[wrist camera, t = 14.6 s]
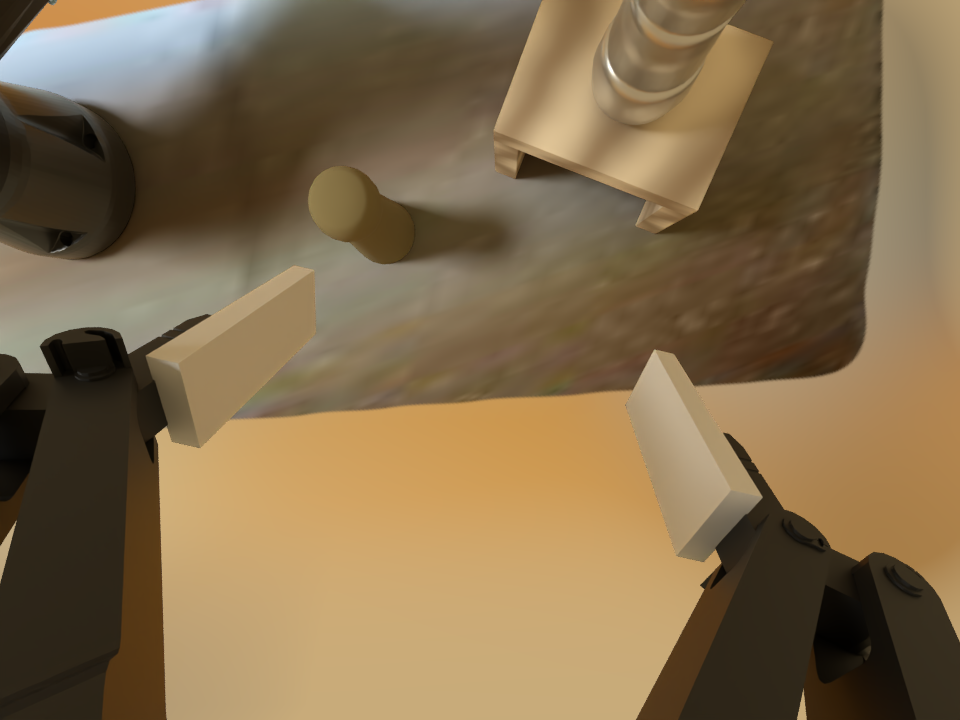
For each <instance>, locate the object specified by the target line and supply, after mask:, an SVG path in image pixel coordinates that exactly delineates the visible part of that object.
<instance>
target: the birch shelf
mask: <svg viewBox="0 0 960 720" xmlns="http://www.w3.org/2000/svg"><path fill="white" fill-rule="evenodd" d="M622 2H623V0H542V2H541V5H540V7H539V10H538V13H537V15H536V18H535V21H534V23H533V26H532V29H531V31H530V34H529V37H528V39H527V42H526V45H525V48H524V50H523V53H522V56H521V58H520V61H519V64H518V66H517V69H516V72H515V74H514V77H513V80H512V82H511V85H510V88H509V90H508V93H507V96H506V98H505V101H504V104H503V106H502V109H501V112H500V114H499V117H498V120H497V123H496V125H495V128H494V151H495V170H496V172H499V173H501V174H504V175H507V176H509V177H512V178H514V179H516V176H517V174H518V171H519V168H520V166H521V163H522V161H523V158H524V155H525V153H527V154H530V155H532V156H535V157H538V158H540V159H543V160H545V161H548V162H550V163H553V164H555V165H558V166H561V167H563V168H566V169H568V170H571V171H573V172H576V173H578V174H581V175H584V176H586V177H589V178H591V179H594V180H596V181H599V182H601V183H604V184H607V185H609V186H612V187H614V188H617V189H619V190H622V191H624V192H627V193H630V194H632V195H635V196H637V197H640V198H642V199H645V200H646V202H645V204H644V207H643V209H642V211H641V214H640V216H639V218H638V221H637V223H636V225H635V226H637V227H639V228H642V229H644V230H647V231H649V232H652V233H654V234H656V233H658V232H660V231H661V230H663V229H665V228H667V227H669V226H670V225H672V224H674V223H676V222H678V221H680V220H681V219H683V218H685V217H687V216H689V215H691V214H692V213H694V212H696V211H698V209H699V207H700V205H701V202H702V200H703V198H704V196H705V193H706V191H707V189H708V187H709V185H710V182H711V180H712V178H713V176H714V173H715V171H716V169H717V167H718V165H719V162H720V160H721V158H722V156H723V153H724V151H725V149H726V147H727V145H728V142H729V140H730V138H731V136H732V133H733V131H734V129H735V127H736V124H737V122H738V120H739V118H740V116H741V113H742V111H743V109H744V107H745V104H746V102H747V100H748V98H749V96H750V93H751V91H752V89H753V87H754V84H755V82H756V80H757V78H758V76H759V73H760V71H761V69H762V67H763V64H764V62H765V60H766V58H767V56H768V53H769V51H770V49H771V47H772V44H773V41H770V40H768V39H765V38H762V37H760V36H757V35H755V34H752V33H749V32H747V31H744V30H742V29H739V28H736V27H734V26H731V25H728V24H727V25H726V27H725V28H724V30H723V31H722V33H721V35H720V36H719V38H718V39H717V41H716V43H715V44H714V46H713V47H712V49H711V51H710V52H709V54H708V56H707V57H706V60H705V62H704V65H703V67H702V70H701V71H700V73H699V75H698V77H697V79H696V80H695V82H694V84H693V86H692V88H691V89H690V91H689V93H688V94H687V95H686V96H685V98H684V99H683V100H682V101H681V102H680V103H679V104H678V105H676V106H675V107H674V108H673V109H671V110H670V111H669V112H668V113H666V114H665V115H664V116H662V117H660V118H659V119H657V120H655V121H652V122H649V123H647V124H641V125H627V124H623V123H619V122H617V121H615V120H613V119H611V118H610V117H608V116H607V115H606V114H605V113H604V112H603V111H602V110H601V109H600V107H599V106H598V104H597V102H596V100H595V98H594V95H593V91H592V68H593V59H594V56H595V52H596V49H597V47H598V45H599V43H600V41H601V39H602V37H603V35H604V34H605V32H606V30H607V28H608V26H609V24H610V23H611V21H612V20H613V19H614V17H615V16H616V15H617V13H618V11H619V8H620V6H621V4H622Z"/></svg>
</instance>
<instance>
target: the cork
mask: <svg viewBox="0 0 960 720" xmlns="http://www.w3.org/2000/svg"><path fill="white" fill-rule="evenodd" d="M308 205H309V211H310V214H311V216H312V218H313V221H314V222H315V223H316V225H317V226H318V227H319V228H320V229H321V230H322V232H323V233H325V234H327V235H328V236H330V237H331V238H333V239H336V240H339V241H343V242H350V243H351V244H352V245H353V246H354V247H355V248H356V249H357V250H358V251H359V252H360V253H362V254H363V255H364V256H365V257H366V258H368V259H369V260H371V261H373V262H376V263H380V264H391V263H394V262H396V261H399V260H401V259H402V258H403V257H404V256H405V255H406V254H408V252H409V250H410V249H411V247H412V245H413V242H414V237H415V228H414V223H413V221H412V218H411V216H410V214H409V213H408V212H407V211H406V209H405V208H404V207H402V206H401V205H399V204H397V203H396V202H394V201H392V200H390V199H388V198H386V197H384V196H383V195H381V194H380V193H379V191H378V189H377V187H376V185H375V184H374V183H373V182H372V181H371V179H370V178H369V177H368V176H367V175H366V174H364V173H362V172H361V171H359V170H358V169H355V168H351V167H347V166H334V167H331V168H329V169H327V170H324V171H323V172H322V173H321V174H319V175H318V176H317V177H316V178H315V180H314V182H313V184H312V185H311V187H310V191H309V196H308Z"/></svg>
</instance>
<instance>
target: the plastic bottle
mask: <svg viewBox="0 0 960 720" xmlns="http://www.w3.org/2000/svg"><path fill="white" fill-rule="evenodd" d="M746 1H747V0H623V2H622V4H621V6H620V8H619V11H618V13H617V15H616V16H615V17H614V19H613V20H612V21H611V23H610V24H609V26H608V28H607V30H606V32H605V34H604V35H603V37H602V39H601V41H600V43H599V45H598V47H597V49H596V52H595V56H594V59H593V68H592V91H593V95H594V98H595V100H596V102H597V104H598V106H599V107H600V109H601V110H602V111H603V112H604V113H605V114H606V115H607V116H608V117H610V118H611V119H613V120H615V121H617V122H619V123H623V124H627V125H641V124H647V123H649V122H652V121H655V120H657V119H659V118H660V117H662V116H664V115H665V114H666V113H668V112H669V111H670V110H671V109H673V108H674V107H675V106H676V105H678V104H679V103H680V102H681V101H682V100H683V99H684V98H685V96H686V95H687V94H688V93H689V91H690V89H691V88H692V86H693V84H694V82H695V80H696V79H697V77H698V75H699V73H700V71H701V70H702V67H703V65H704V62H705V60H706V57H707V56H708V54H709V52H710V51H711V49H712V47H713V46H714V44H715V43H716V41H717V39H718V38H719V36H720V35H721V33H722V31H723V30H724V28H725V27H726V25H727V24H728V22H729V21H730V20H731V19H732V18H733V16H734V15H735V14H736V13H737V12H738V10H739V9H740V8H741V7H742V6H743V4H744V3H745V2H746Z"/></svg>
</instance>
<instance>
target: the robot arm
mask: <svg viewBox="0 0 960 720" xmlns="http://www.w3.org/2000/svg"><path fill="white" fill-rule="evenodd" d="M56 1H57V0H0V60H1V58H2V57H3V56H4V55H5V54H6V52H7V51H8V50H9V49H10V48H11V46H12V45H13V44H14V43H15V41H16V40H17V39H18V38H19V37H20V35H21V34H22V33H23V32H24V31H25V29H26V28H27V27H28V26H29V25H30V23H31V22H32V21H33V20H34V18H35V17H36V16H37V15H38V14H39V12H40V11H41V10H42V9H43V8H44V6H45V5H46V4H47V3H49V4H51V5H54V4H55V3H56ZM134 197H135V179H134V172H133V167H132V164H131V160H130V157H129V155H128V152H127V150H126V148H125V146H124V144H123V142H122V141H121V139H120V138H119V136H118V135H117V133H116V132H115V131H114V130H113V128H112V127H111V126H110V125H109V124H108V123H107V122H106V121H105V120H104V119H102V118H101V117H100V116H98V115H97V114H96V113H94V112H93V111H91V110H89V109H87V108H85V107H83V106H81V105H79V104H77V103H75V102H73V101H71V100H69V99H67V98H65V97H63V96H60V95H58V94H55V93H52V92H49V91H45V90H41V89H36V88H31V87H26V86H21V85H16V84H11V83H6V82H2V81H0V242H1V243H4V244H6V245H8V246H11V247H13V248H16V249H18V250H21V251H24V252H27V253H31V254H35V255H40V256H47V257H54V258H61V259H80V258H85V257H89V256H92V255H95V254H97V253H99V252H101V251H102V250H104V249H106V248H107V247H108V246H110V245H111V244H112V243H113V242H114V241H115V240H116V239H117V238H118V237H119V235H120V234H121V233H122V231H123V230H124V228H125V226H126V225H127V222H128V220H129V218H130V215H131V212H132V209H133V204H134ZM315 334H316V316H315V280H314V270H312V269H308V268H303V267H299V266H295V265H294V266H292V267H291V268H289V269H287V270H286V271H284V272H282V273H281V274H279V275H277V276H276V277H274V278H272V279H271V280H269V281H268V282H266V283H264V284H263V285H261V286H259V287H258V288H256V289H254V290H253V291H251V292H250V293H248V294H246V295H245V296H243V297H241V298H240V299H238V300H236V301H235V302H233V303H231V304H230V305H228V306H227V307H225V308H223V309H222V310H220V311H218V312H217V313H215V314H213V315H208V314H206V315H203V316H199V317H196V318H192V319H189V320H187V321H185V322H183V323H182V324H180V325H178V326H176V327H175V328H174V329H173V330H169V331H168V332H166V333H164V334H163V335H162V337H157V338H156V339H154V340H152V341H151V342H149V343H147V344H145V345H144V346H142V347H140V348H138V349H137V350H135V351H133V352H132V353H130V354H127V351H126V348H125V345H124V342H123V339H122V337H121V334H120V333H119V332H117V331H115V330H113V329H108V328H101V327H87V328H79V329H73V330H68V331H65V332H61V333H58V334H55V335H53V336H52V337H50V338H48V339H46V340H45V341H44V342H43V343H42V344H41V345H40V348H41V350H42V352H43V354H44V357H45V359H46V361H47V363H48V365H49V367H50V369H51V371H52V373H53V374H41V373H24V371H23V369H22V367H21V365H20V363H19V362H18V360H17V359H16V358H15V357H12V356H9V355H7V354H0V545H1V544H2V542H3V540H4V539H5V537H6V536H7V534H8V533H9V531H10V530H11V528H12V526H13V525H14V523H15V521H16V520H17V522H16V526H15V529H14V533H13V537H12V541H11V545H10V549H9V552H8V556H7V560H6V564H5V568H4V572H3V575H2V579H1V583H0V720H167V719H166V703H165V669H164V635H163V600H162V567H161V531H160V501H159V500H160V498H159V463H158V443H157V440H156V438H155V435H156V434H157V433H158V432H160V431H161V430H162V429H163V428H164V427H166V426H167V427H168V431H169V434H170V437H171V440H172V442H175V443H179V444H184V445H188V446H193V447H197V448H201V447H202V446H203V445H204V444H205V443H206V442H207V441H208V440H209V439H210V438H211V437H212V436H213V435H214V434H215V433H216V432H217V431H218V430H219V429H220V428H221V427H222V426H223V425H224V424H225V423H226V422H227V421H228V420H229V419H230V418H231V417H232V416H233V415H234V414H235V413H236V412H237V411H238V410H239V409H240V408H241V407H242V406H243V405H244V404H245V403H246V402H247V401H248V400H249V399H250V398H251V397H252V396H253V395H254V394H255V393H256V392H257V391H258V390H260V389H261V388H262V387H263V386H264V385H265V384H266V383H267V382H268V381H269V380H270V379H271V378H272V377H273V376H274V375H275V374H276V373H277V372H278V371H279V370H280V369H281V368H282V367H283V366H284V365H285V364H286V363H287V362H288V361H289V360H290V359H291V358H292V357H293V356H294V355H295V354H296V353H297V352H298V351H299V350H300V349H301V348H302V347H303V346H304V345H305V344H306V343H307V342H308V341H309V340H310V339H311V338H312V337H313V336H314V335H315ZM626 408H627V411H628V414H629V417H630V420H631V423H632V426H633V429H634V432H635V435H636V438H637V441H638V444H639V447H640V450H641V453H642V456H643V459H644V462H645V464H646V468H647V471H648V473H649V476H650V479H651V482H652V485H653V488H654V491H655V494H656V497H657V500H658V503H659V506H660V509H661V512H662V515H663V518H664V521H665V523H666V527H667V530H668V533H669V536H670V538H671V541H672V544H673V547H674V550H675V553H676V556H678V557H683V558H687V559H692V560H696V561H701V562H704V561H705V560H706V559H707V558H708V557H709V556H710V555H711V553H713V551H714V550H715V549H716V551H717V553H718V555H719V557H720V560H721V562H722V563H721V564H720V565H719V566H718V567H717V568H716V569H715V571H714V572H713V573H712V574H711V575H710V576H709V577H708V578H707V579H706V580H705V581H704V582H703V583H702V584H701V585H700V586H702V587H703V588H704V589H705V590H704V592H703V593H702V595H701V598H700V599H699V601H698V603H697V605H696V607H695V609H694V611H693V612H692V614H691V616H690V618H689V620H688V622H687V624H686V626H685V628H684V630H683V631H682V634H681V635H680V637H679V639H678V641H677V643H676V645H675V647H674V648H673V651H672V652H671V655H670V656H669V658H668V660H667V662H666V664H665V666H664V667H663V669H662V671H661V673H660V675H659V677H658V679H657V681H656V683H655V685H654V686H653V688H652V690H651V692H650V694H649V696H648V698H647V700H646V702H645V704H644V706H643V707H642V709H641V711H640V713H639V715H638V717H637V719H636V720H797V716H798V712H799V707H800V702H801V697H802V692H803V688H804V696H805V706H806V716H807V720H960V642H959V639H958V637H957V635H956V633H955V630H954V628H953V627H952V624H951V622H950V620H949V617H948V615H947V613H946V610H945V608H944V606H943V604H942V601H941V599H940V598H939V596H938V595H937V593H936V592H935V590H934V589H933V588H932V587H931V585H929V583H928V582H927V581H926V580H925V579H924V578H923V577H922V576H921V575H920V574H919V573H918V572H915V571H914V569H913V568H911V567H910V566H908V565H906V564H904V563H903V562H901V561H899V560H897V559H896V558H894V557H891V556H889V555H886V554H884V553H877V552H873V553H871V554H870V555H868V556H867V557H866V558H864V559H863V560H862V561H860V562H858V561H856V560H854V559H852V558H850V557H848V556H846V555H843V554H841V553H839V552H837V551H835V550H833V549H831V547H830V545H829V543H828V542H827V540H826V538H825V537H824V536H823V535H822V534H821V533H820V531H818V529H817V528H816V527H815V526H813V525H812V524H811V523H809V522H808V521H807V520H805V519H804V518H802V517H801V516H799V515H797V514H795V513H793V512H790V511H787V510H784V509H783V507H782V506H781V504H780V503H779V501H778V500H777V498H776V497H775V495H774V493H773V492H772V490H771V489H770V487H769V486H768V484H767V483H766V481H765V480H764V478H763V477H762V475H761V474H759V473H758V472H759V471H758V469H757V468H756V466H755V464H754V463H752V462H751V461H752V460H751V458H750V457H749V455H748V454H747V452H746V451H745V449H744V448H743V447H742V446H741V445H740V444H739V443H738V442H737V441H736V440H735V439H734V438H733V437H732V436H731V435H730V434H727V433H723V432H722V431H721V429H720V428H719V426H718V424H717V423H716V421H715V420H714V418H713V416H712V415H711V413H710V411H709V410H708V408H707V407H706V405H705V403H704V402H703V400H702V399H701V397H700V395H699V394H698V392H697V390H696V389H695V387H694V386H693V384H692V382H691V381H690V379H689V378H688V376H687V374H686V373H685V371H684V370H683V368H682V366H681V365H680V363H679V361H678V360H677V358H676V357H675V355H674V354H671V353H667V352H663V351H659V350H654V351H653V353H652V355H651V357H650V359H649V361H648V363H647V365H646V367H645V368H644V370H643V372H642V374H641V376H640V378H639V380H638V382H637V384H636V386H635V388H634V390H633V392H632V394H631V396H630V397H629V399H628V401H627V403H626Z"/></svg>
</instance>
